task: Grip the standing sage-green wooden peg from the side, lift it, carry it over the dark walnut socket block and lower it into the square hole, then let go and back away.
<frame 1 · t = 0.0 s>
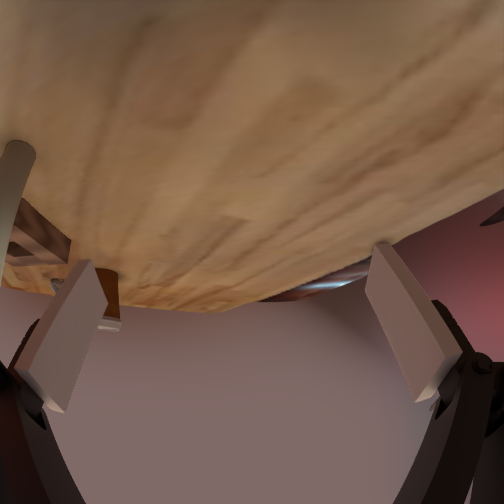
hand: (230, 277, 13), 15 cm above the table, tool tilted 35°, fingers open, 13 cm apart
socket block: (19, 226, 36), on the table
ceramic mug: (69, 283, 66), on the table
disposable coffee cup: (104, 272, 58), on the table
peg: (20, 152, 22), on the table
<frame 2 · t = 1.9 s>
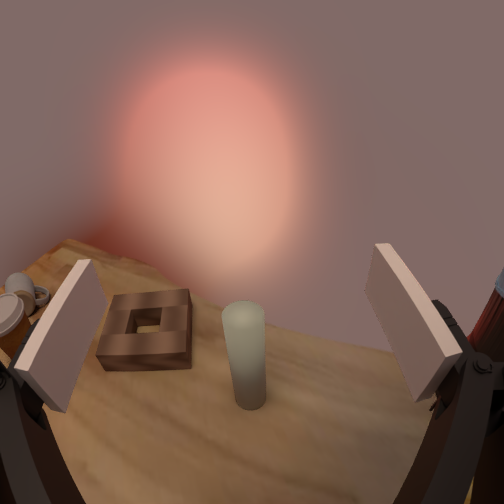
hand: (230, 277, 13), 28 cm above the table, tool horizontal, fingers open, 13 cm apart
socket block: (150, 337, 46), on the table
ceramic mug: (32, 306, 52), on the table
disposable coffee cup: (31, 359, 40), on the table
peg: (250, 397, 36), on the table
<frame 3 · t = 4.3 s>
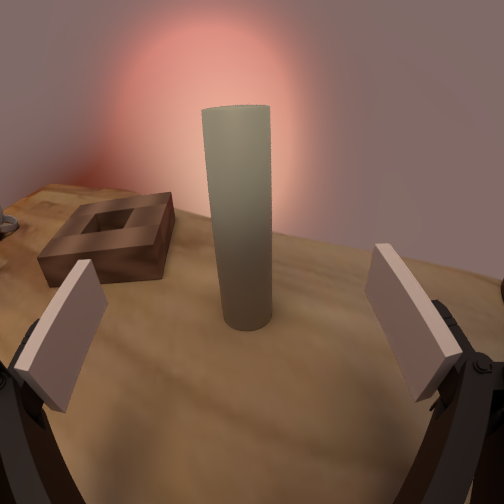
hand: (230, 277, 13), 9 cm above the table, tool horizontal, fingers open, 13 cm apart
socket block: (116, 249, 34), on the table
peg: (247, 313, 24), on the table
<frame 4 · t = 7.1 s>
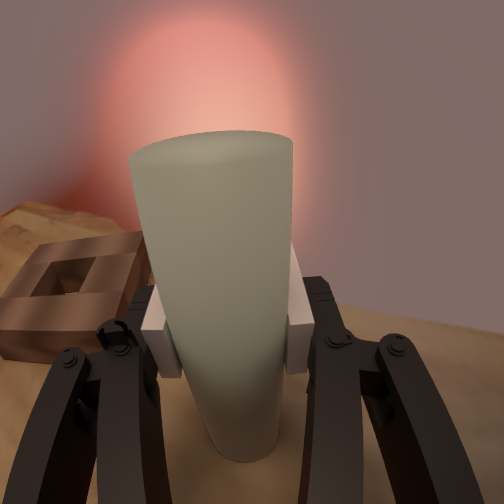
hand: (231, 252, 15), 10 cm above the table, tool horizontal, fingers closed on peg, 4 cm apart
socket block: (78, 308, 25), on the table
peg: (244, 433, 15), on the table, touching gripper
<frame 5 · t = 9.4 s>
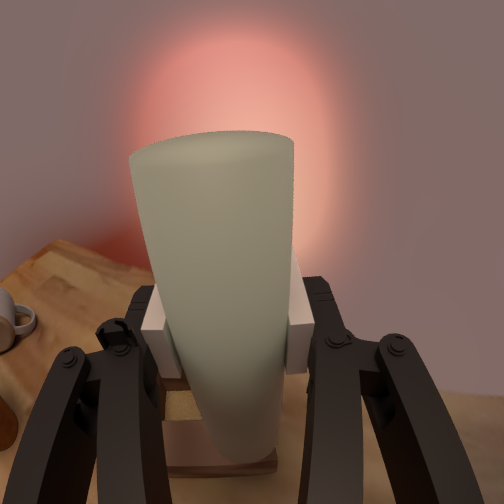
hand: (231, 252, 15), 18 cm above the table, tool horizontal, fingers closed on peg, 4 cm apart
socket block: (192, 413, 25), on the table
ceramic mug: (12, 334, 33), on the table
disposable coffee cup: (1, 429, 19), on the table
peg: (245, 434, 15), point 9 cm above the table, touching gripper
when the fingers open (11 cm above the table, at t = 12.1 s): peg drops 1 cm, resting in socket block.
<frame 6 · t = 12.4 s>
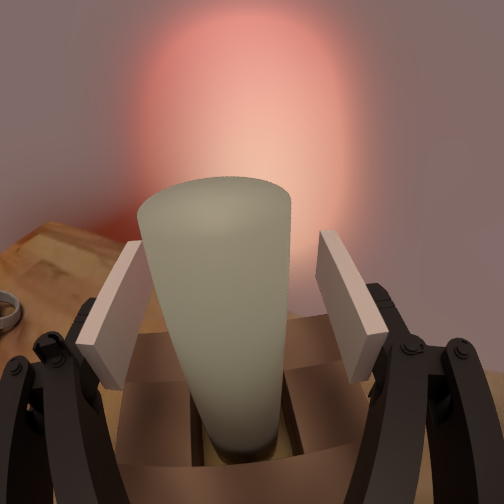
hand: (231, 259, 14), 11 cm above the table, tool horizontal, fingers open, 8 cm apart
socket block: (245, 441, 16), on the table
peg: (245, 442, 16), resting in socket block
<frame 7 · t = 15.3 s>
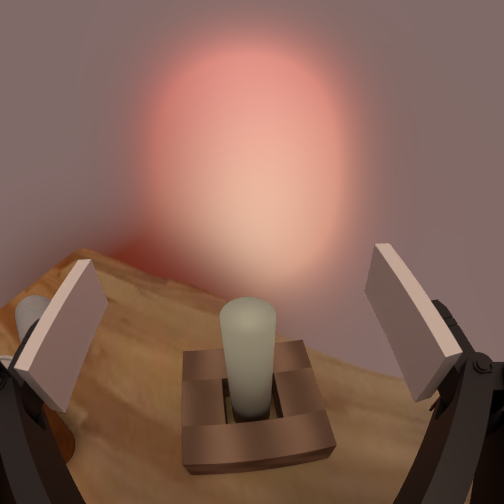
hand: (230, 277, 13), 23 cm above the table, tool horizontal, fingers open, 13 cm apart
socket block: (251, 414, 29), on the table
ceramic mug: (57, 343, 37), on the table
disposable coffee cup: (54, 445, 23), on the table
peg: (251, 414, 29), resting in socket block
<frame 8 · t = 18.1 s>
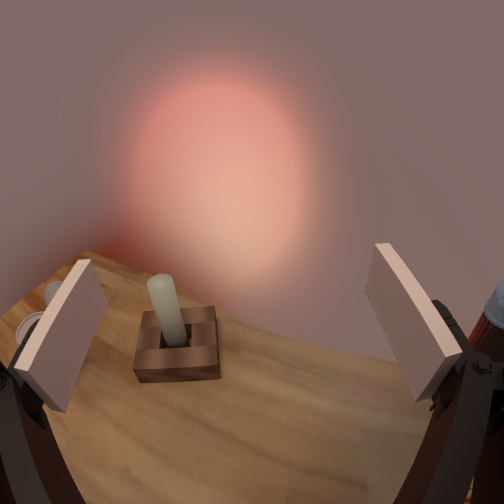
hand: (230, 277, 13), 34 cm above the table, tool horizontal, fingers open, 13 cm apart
socket block: (180, 350, 51), on the table
ceramic mug: (71, 313, 59), on the table
disposable coffee cup: (63, 372, 45), on the table
peg: (180, 350, 51), resting in socket block
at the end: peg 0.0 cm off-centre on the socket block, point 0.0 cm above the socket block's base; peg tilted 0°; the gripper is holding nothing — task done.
